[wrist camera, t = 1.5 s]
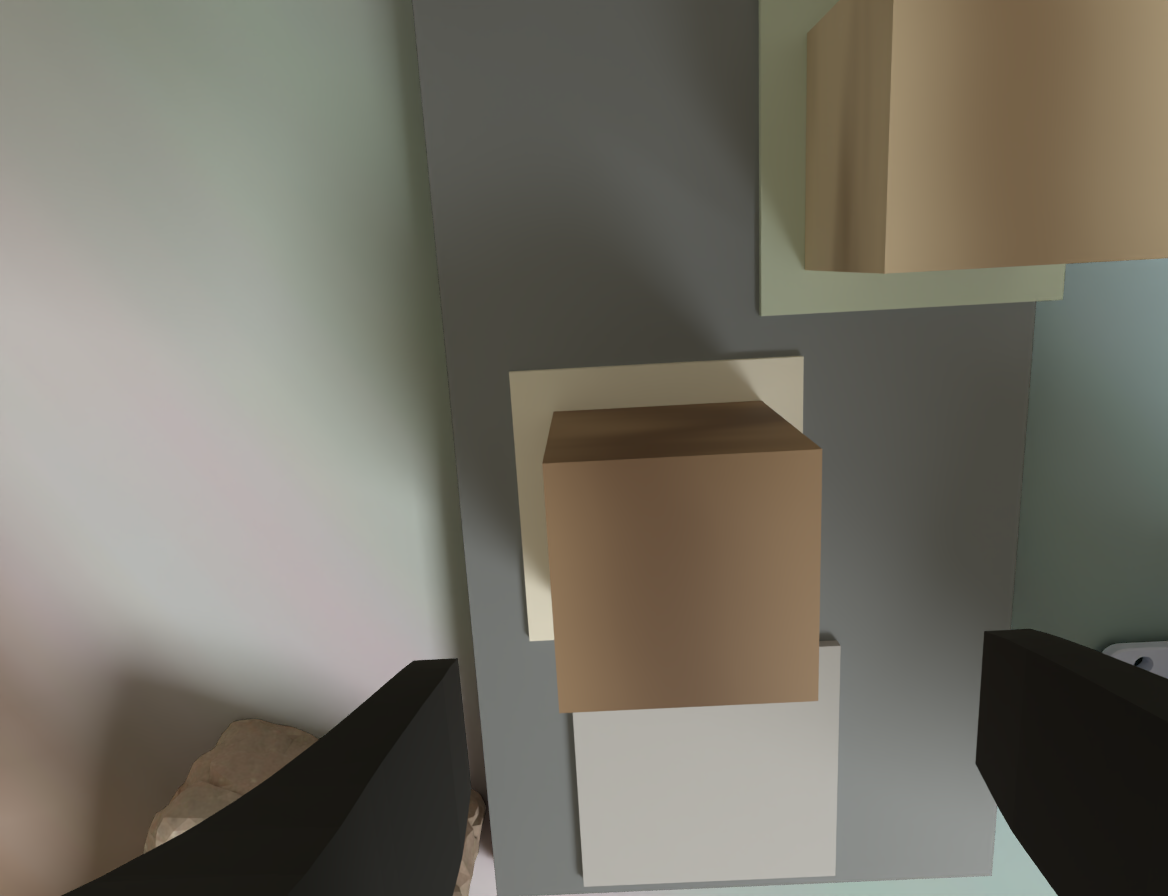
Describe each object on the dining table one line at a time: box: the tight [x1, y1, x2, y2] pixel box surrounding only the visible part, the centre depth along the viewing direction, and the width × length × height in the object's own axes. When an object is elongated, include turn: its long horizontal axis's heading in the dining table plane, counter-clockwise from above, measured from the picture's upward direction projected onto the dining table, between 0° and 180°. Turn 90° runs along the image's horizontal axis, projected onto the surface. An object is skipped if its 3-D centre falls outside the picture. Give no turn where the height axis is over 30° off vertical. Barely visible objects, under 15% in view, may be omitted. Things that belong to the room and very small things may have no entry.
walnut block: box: [542, 401, 822, 713], centre depth 17 cm, size 5×5×5 cm
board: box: [412, 0, 1066, 896], centre depth 20 cm, size 14×24×1 cm, turn 3°
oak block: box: [805, 0, 1168, 274], centre depth 15 cm, size 5×5×5 cm
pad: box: [573, 640, 841, 887], centre depth 21 cm, size 7×7×1 cm
